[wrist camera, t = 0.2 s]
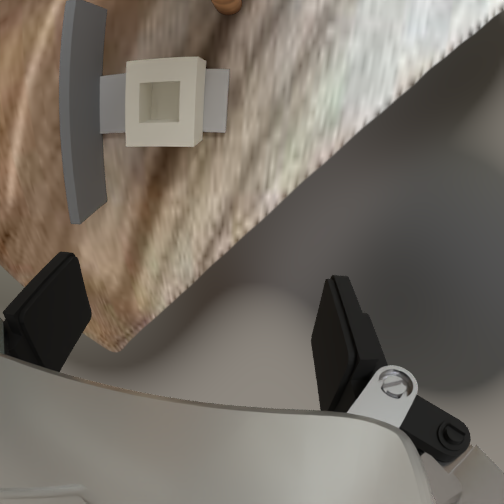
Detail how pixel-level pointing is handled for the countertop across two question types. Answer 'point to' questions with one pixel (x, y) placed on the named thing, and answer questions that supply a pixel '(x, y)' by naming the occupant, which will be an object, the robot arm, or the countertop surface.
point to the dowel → (227, 6)
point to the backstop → (103, 106)
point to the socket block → (164, 102)
